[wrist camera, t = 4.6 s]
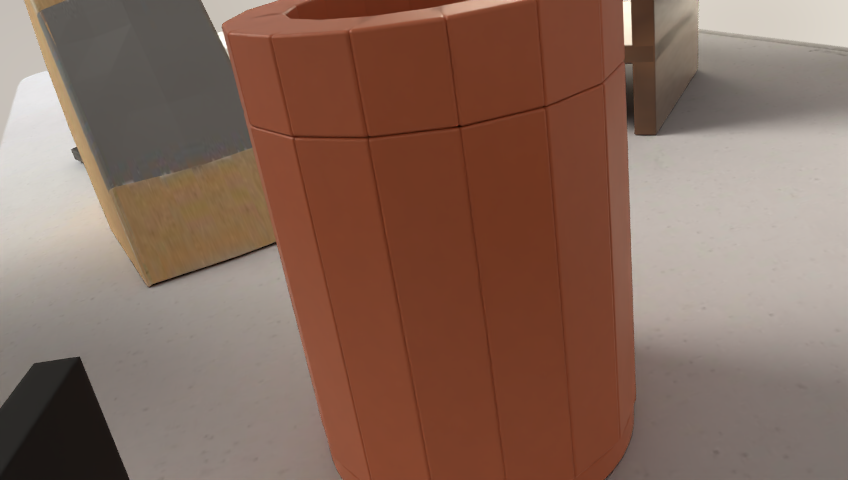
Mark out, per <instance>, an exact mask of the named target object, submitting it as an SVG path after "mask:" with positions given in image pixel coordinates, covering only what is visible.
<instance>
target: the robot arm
mask: <svg viewBox="0 0 848 480" xmlns="http://www.w3.org/2000/svg"><path fill="white" fill-rule="evenodd" d="M0 480H129V477H128V475H127V472H126V470H125V467H124V465H123V462H122V460H121V457H120V455H119V452H118V450H117V447H116V445H115V443H114V440H113V438H112V435H111V433H110V430H109V428H108V425H107V423H106V420H105V418H104V415H103V413H102V410H101V408H100V405H99V403H98V401H97V398H96V396H95V393H94V391H93V388H92V386H91V383H90V381H89V378H88V376H87V373H86V371H85V368H84V366H83V363H82V361H81V358H80V356H79V357H73V358H66V359H60V360H53V361H47V362H40V363H34V364H33V366H32V367H31V368H30V370H29V371H28V372H27V374H26V375H25V376H24V378H23V379H22V380H21V382H20V383H19V384H18V386H17V387H16V388H15V390H14V391H13V392H12V394H11V395H10V396H9V398H8V399H7V400H6V401H5V403H4V404H3V405H2V407H1V408H0Z"/></svg>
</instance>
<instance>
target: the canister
mask: <svg viewBox="0 0 848 480" xmlns="http://www.w3.org/2000/svg"><path fill="white" fill-rule="evenodd" d="M222 29H223V33H224V37H225V41H226V45H227V49H228V53H229V57H230V61H231V65H232V69H233V73H234V77H235V81H236V85H237V89H238V93H239V97H240V101H241V104H242V108H243V110H244V116H245V120H246V124H247V128H248V132H249V136H250V140H251V144H252V148H253V152H254V156H255V160H256V164H257V168H258V172H259V176H260V179H261V183H262V187H263V191H264V195H265V199H266V203H267V207H268V211H269V215H270V219H271V223H272V227H273V231H274V235H275V239H276V243H277V247H278V250H279V254H280V258H281V262H282V266H283V270H284V274H285V278H286V282H287V286H288V290H289V294H290V298H291V302H292V306H293V310H294V314H295V318H296V321H297V325H298V329H299V333H300V337H301V341H302V345H303V349H304V353H305V357H306V361H307V365H308V369H309V373H310V377H311V381H312V385H313V389H314V393H315V396H316V400H317V404H318V408H319V412H320V416H321V420H322V423H323V426H324V430H325V433H326V436H327V439H328V443H329V447H330V451H331V455H332V459H333V462H334V464H335V466H336V469H337V471H338V473H339V474H340V476H341V477H342V479H343V480H604V479H605V478H606V477H607V476H608V475H609V474H610V473H611V472H612V471H613V470H614V468H615V467H616V465H617V464H618V463H619V461H620V460H621V458H622V457H623V455H624V453H625V451H626V449H627V447H628V445H629V442H630V439H631V435H632V431H633V424H634V403H635V400H636V382H635V352H634V322H633V292H632V262H631V232H630V202H629V172H628V142H627V112H626V82H625V63H624V59H625V49H624V19H623V0H278V1H275V2H272V3H269V4H265V5H262V6H259V7H256V8H253V9H249V10H247V11H245V12H243V13H241V14H239V15H237V16H235V17H233V18H232V19H230V20H228V21H226V22H225V23H223V24H222Z"/></svg>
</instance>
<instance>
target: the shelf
mask: <svg viewBox="0 0 848 480" xmlns="http://www.w3.org/2000/svg"><path fill="white" fill-rule="evenodd" d="M698 1H699V0H631V1H623V19H624V49H625V59H624V63H625V64H633V94H634V128H635V134H636V135H656V134H657V132H658V131H659V129H660V128H661V126H662V125H663V123H664V121H665V120H666V118H667V117H668V115H669V114H670V112H671V110H672V109H673V107H674V106H675V104H676V103H677V101H678V100H679V98H680V96H681V95H682V93H683V92H684V90H685V89H686V87H687V85H688V84H689V82H690V81H691V79H692V78H693V76H694V75H695V73H696V71H697V70H698V6H699V2H698Z"/></svg>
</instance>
